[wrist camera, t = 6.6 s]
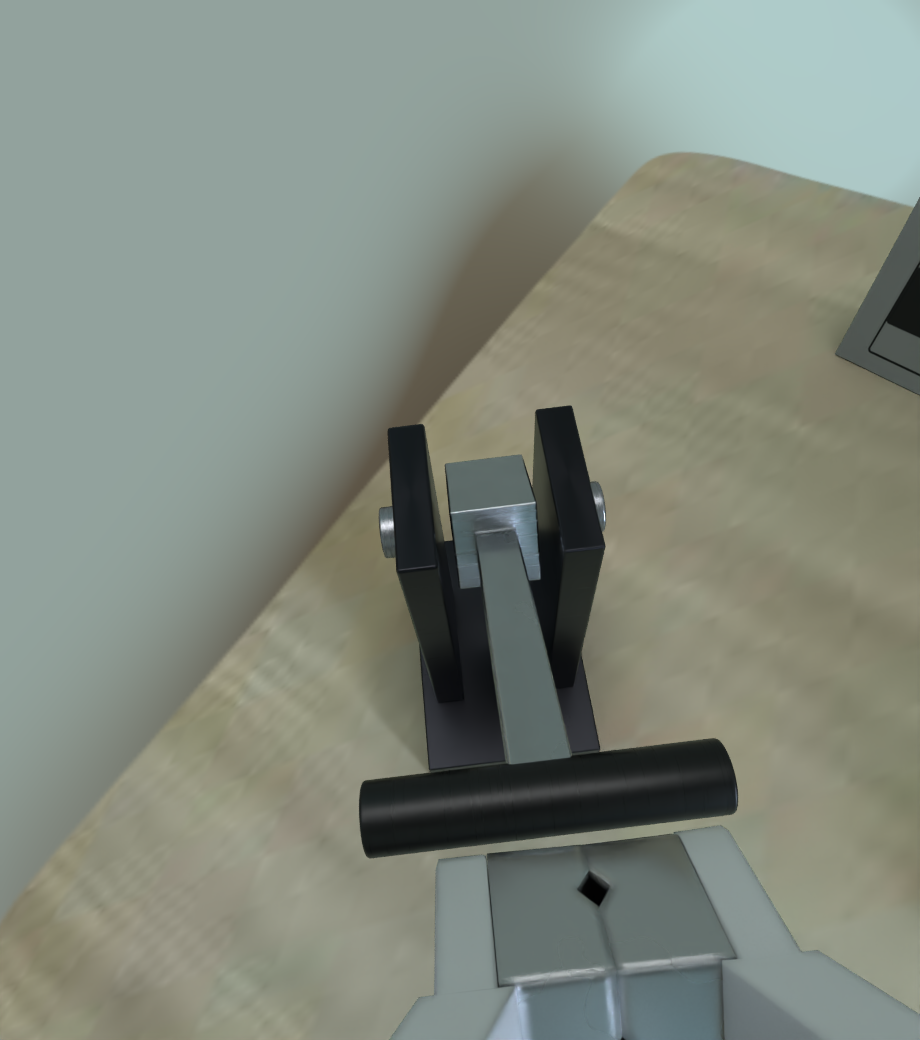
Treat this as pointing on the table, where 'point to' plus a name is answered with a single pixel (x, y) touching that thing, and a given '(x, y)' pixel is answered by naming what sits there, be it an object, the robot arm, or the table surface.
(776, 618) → the table surface
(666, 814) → the lever
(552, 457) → the bracket
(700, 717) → the table surface
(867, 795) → the table surface
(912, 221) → the cassette player
